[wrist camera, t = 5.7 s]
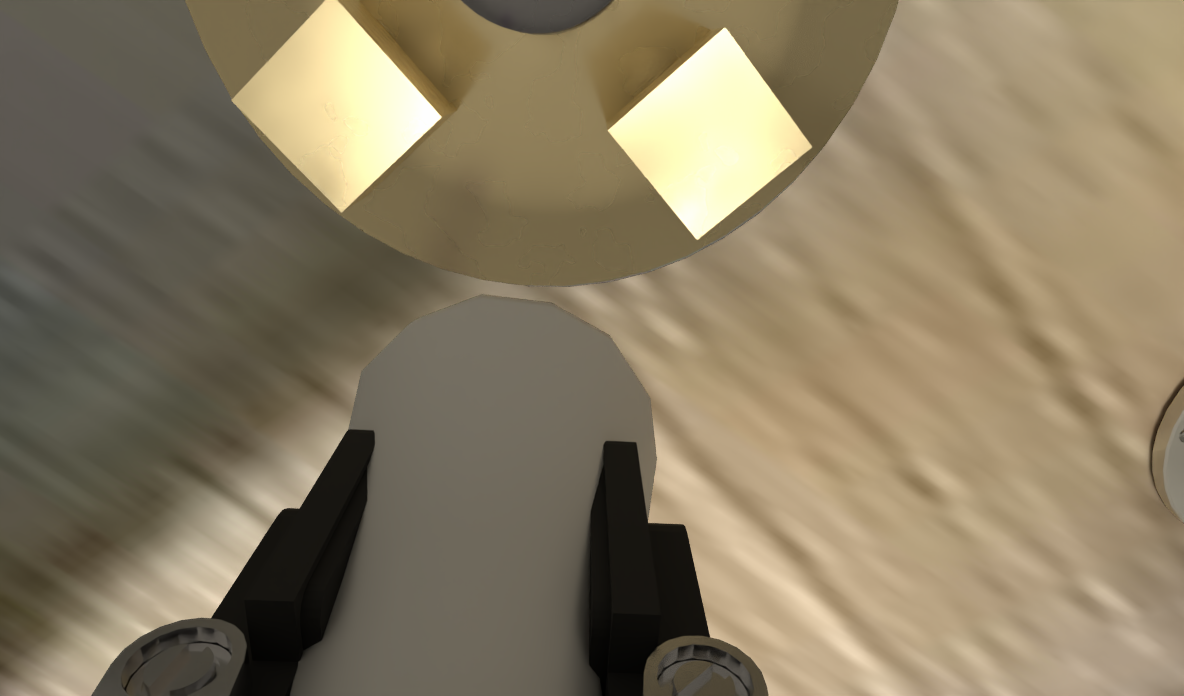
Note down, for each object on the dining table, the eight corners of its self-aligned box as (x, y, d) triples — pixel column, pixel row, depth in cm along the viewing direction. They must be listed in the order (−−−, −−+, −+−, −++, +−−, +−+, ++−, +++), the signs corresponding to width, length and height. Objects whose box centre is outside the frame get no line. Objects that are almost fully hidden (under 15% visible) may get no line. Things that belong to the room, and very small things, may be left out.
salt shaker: (326, 353, 16) (-436, 1265, 4) (549, 209, 15) (421, 867, 3) (484, 543, 18) (288, 1557, 6) (693, 427, 17) (975, 1379, 5)
